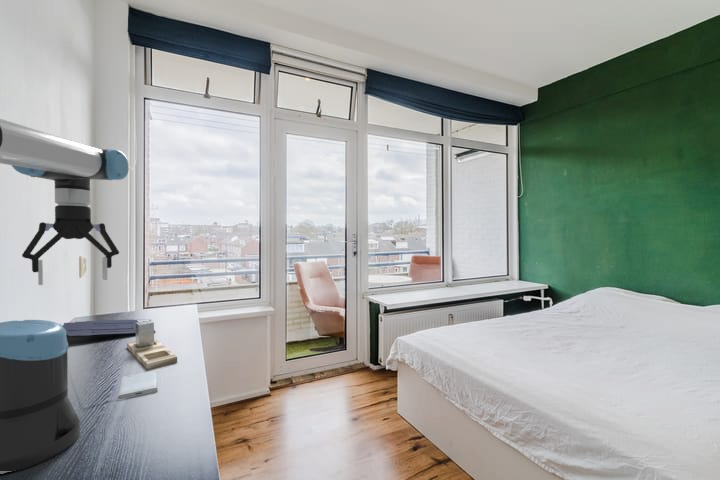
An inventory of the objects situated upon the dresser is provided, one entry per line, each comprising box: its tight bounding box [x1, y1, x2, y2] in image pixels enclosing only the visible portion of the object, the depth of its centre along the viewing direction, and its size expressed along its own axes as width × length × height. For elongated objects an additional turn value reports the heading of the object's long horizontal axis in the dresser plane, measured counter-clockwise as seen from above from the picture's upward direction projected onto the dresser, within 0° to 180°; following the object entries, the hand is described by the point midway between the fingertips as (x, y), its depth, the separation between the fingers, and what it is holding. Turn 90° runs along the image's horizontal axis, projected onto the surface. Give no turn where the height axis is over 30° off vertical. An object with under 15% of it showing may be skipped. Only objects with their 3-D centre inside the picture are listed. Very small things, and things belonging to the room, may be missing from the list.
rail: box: [126, 338, 178, 370], centre depth 109 cm, size 26×8×2 cm, turn 46°
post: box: [135, 319, 155, 349], centre depth 114 cm, size 4×4×9 cm
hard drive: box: [117, 370, 159, 401], centre depth 88 cm, size 2×8×12 cm
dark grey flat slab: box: [62, 319, 138, 337], centre depth 135 cm, size 24×30×4 cm
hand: (74, 281), depth 93 cm, fingers open, 13 cm apart
